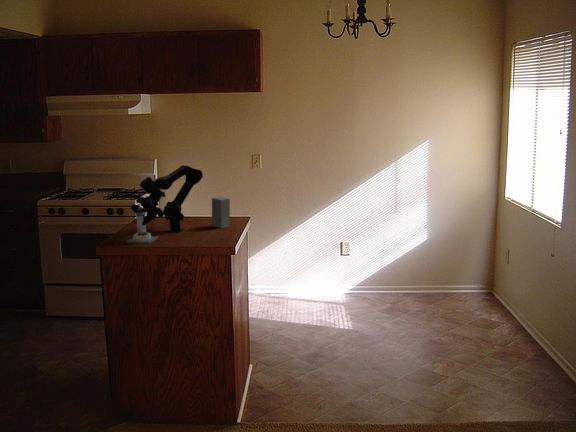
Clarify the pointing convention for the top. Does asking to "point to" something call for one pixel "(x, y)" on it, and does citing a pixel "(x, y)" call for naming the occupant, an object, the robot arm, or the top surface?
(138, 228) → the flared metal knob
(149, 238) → the dock
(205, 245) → the top surface
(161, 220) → the top surface
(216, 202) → the skincare box
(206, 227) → the top surface
